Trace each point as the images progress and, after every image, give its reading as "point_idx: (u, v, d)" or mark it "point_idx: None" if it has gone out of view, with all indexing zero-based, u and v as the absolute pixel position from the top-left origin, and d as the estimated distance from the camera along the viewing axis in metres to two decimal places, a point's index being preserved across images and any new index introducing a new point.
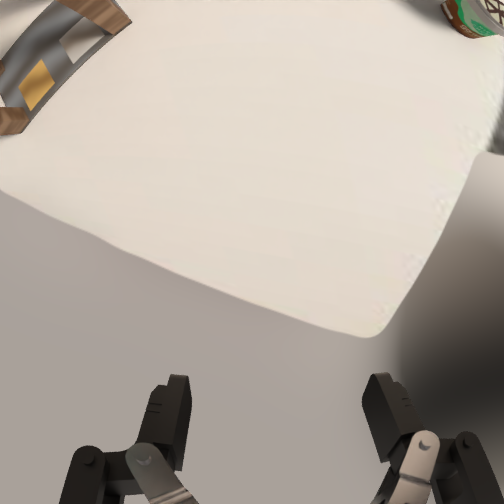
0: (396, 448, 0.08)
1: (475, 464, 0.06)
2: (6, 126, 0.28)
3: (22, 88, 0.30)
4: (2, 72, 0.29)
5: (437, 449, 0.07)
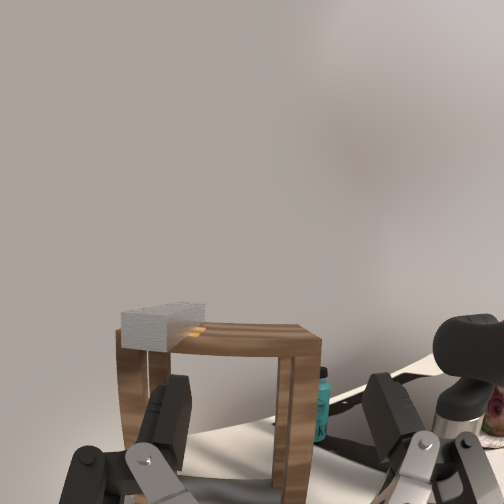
0: (396, 448, 0.08)
1: (475, 464, 0.06)
2: (147, 503, 0.29)
3: None
4: None
5: (437, 449, 0.07)
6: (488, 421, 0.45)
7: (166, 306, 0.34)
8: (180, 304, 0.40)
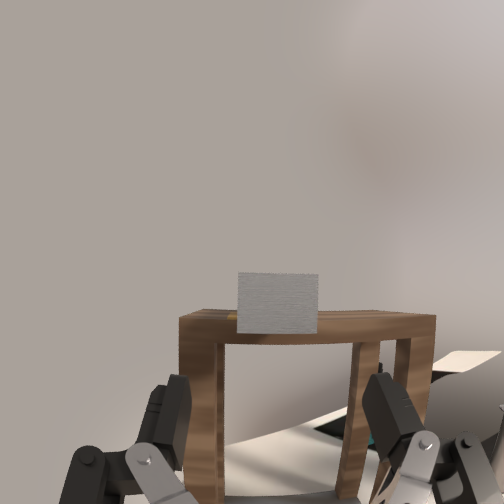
0: (396, 448, 0.08)
1: (475, 464, 0.06)
2: None
3: None
4: None
5: (437, 449, 0.07)
6: None
7: None
8: None
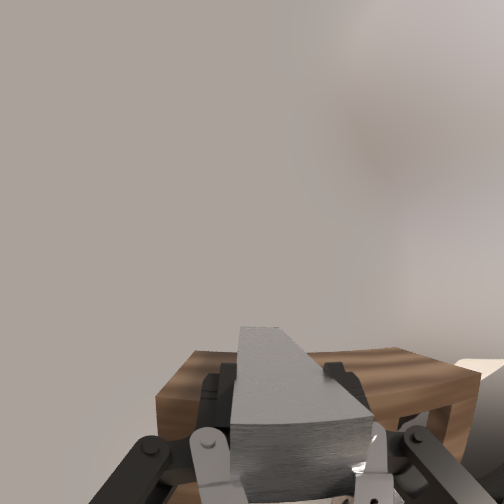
0: None
1: (434, 457, 0.07)
2: None
3: None
4: None
5: (382, 441, 0.08)
6: None
7: (253, 348, 0.18)
8: (256, 335, 0.24)
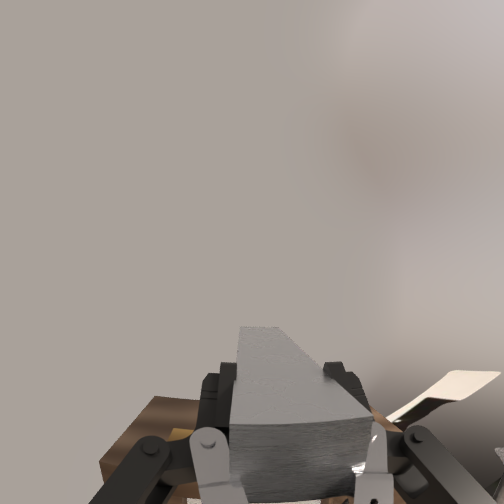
0: None
1: (434, 457, 0.07)
2: None
3: None
4: None
5: (382, 441, 0.08)
6: None
7: (253, 348, 0.18)
8: (256, 335, 0.24)
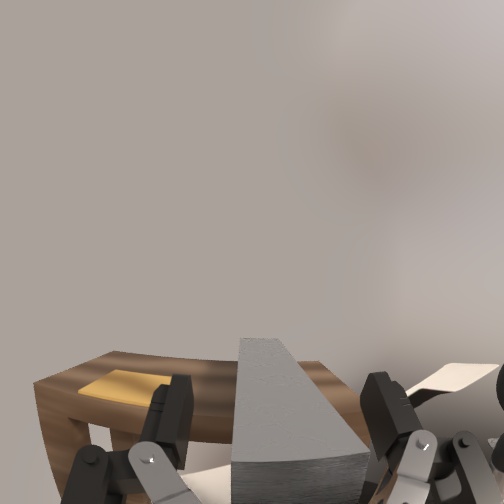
0: (393, 447, 0.08)
1: (473, 463, 0.06)
2: None
3: None
4: None
5: (434, 448, 0.07)
6: None
7: (253, 366, 0.18)
8: (255, 349, 0.24)
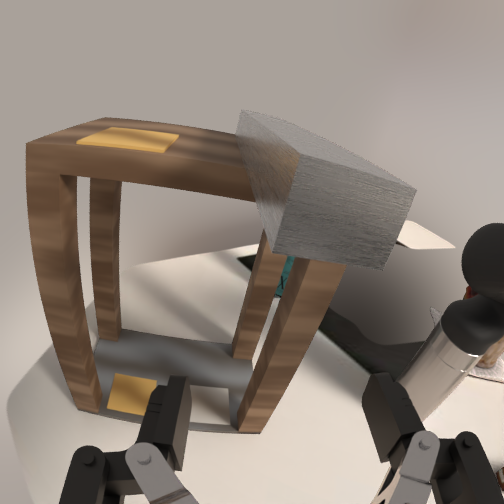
0: (396, 448, 0.08)
1: (475, 464, 0.06)
2: (83, 391, 0.27)
3: (117, 379, 0.35)
4: (113, 340, 0.41)
5: (437, 449, 0.07)
6: None
7: (269, 121, 0.18)
8: (262, 116, 0.23)
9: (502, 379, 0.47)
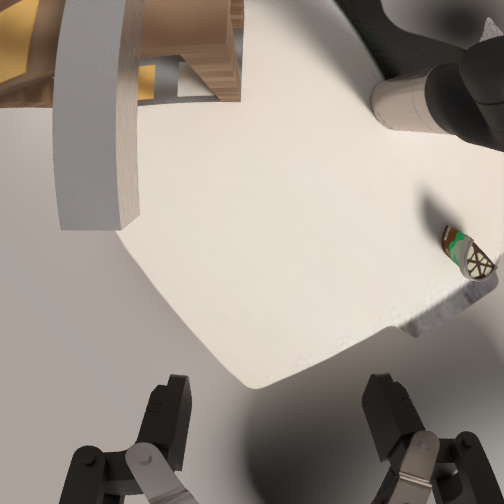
0: (396, 448, 0.08)
1: (475, 464, 0.06)
2: None
3: None
4: None
5: (437, 449, 0.07)
6: None
7: (74, 26, 0.10)
8: None
9: None
